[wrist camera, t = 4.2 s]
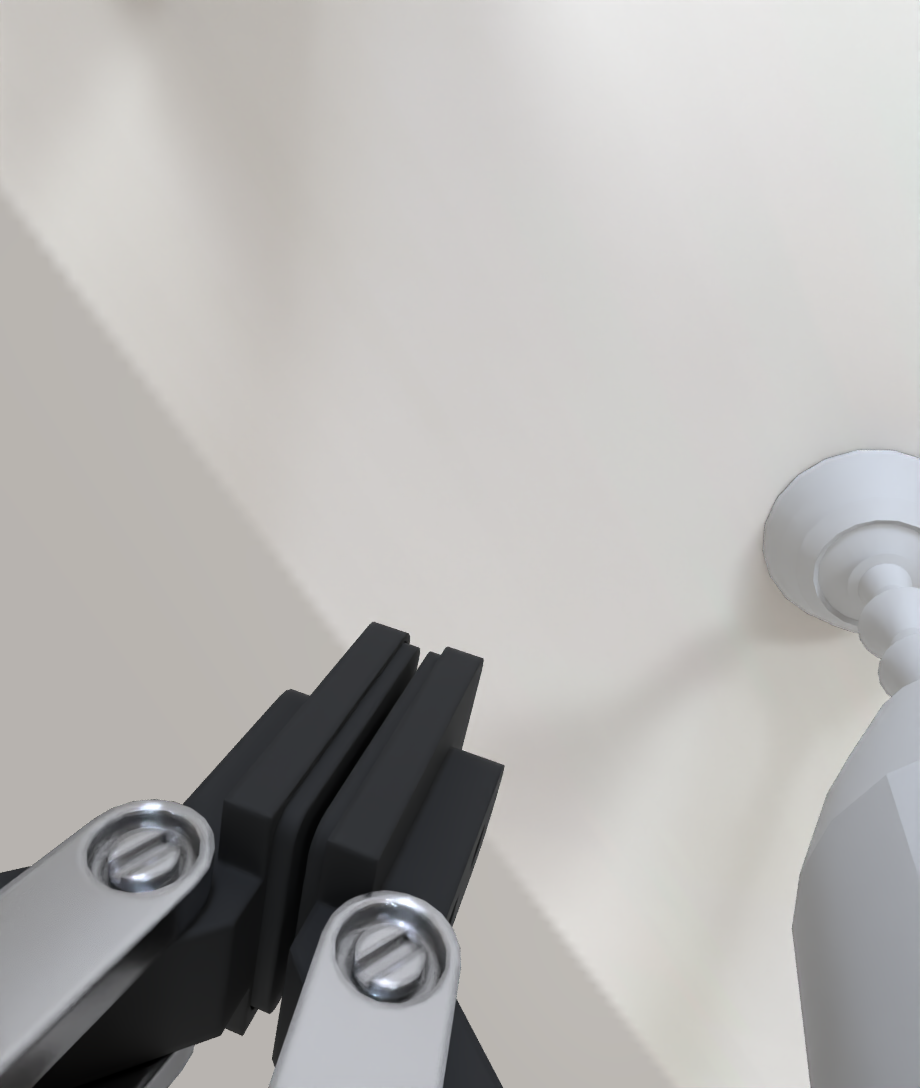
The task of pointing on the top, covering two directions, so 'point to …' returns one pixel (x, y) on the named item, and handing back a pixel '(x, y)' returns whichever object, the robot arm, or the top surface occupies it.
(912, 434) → the top surface
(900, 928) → the chalice
